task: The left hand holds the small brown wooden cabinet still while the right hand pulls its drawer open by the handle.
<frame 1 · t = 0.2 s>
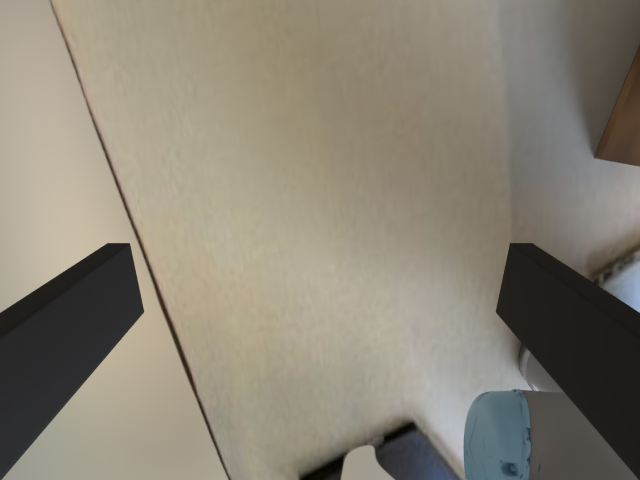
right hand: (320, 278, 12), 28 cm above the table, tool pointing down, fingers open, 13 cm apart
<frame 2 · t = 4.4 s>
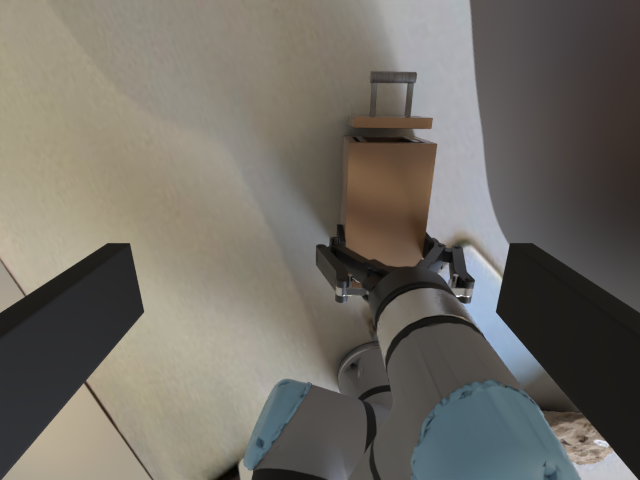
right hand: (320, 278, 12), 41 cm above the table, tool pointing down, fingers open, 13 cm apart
left hand: (378, 233, 50), fingers closed on cabinet, 10 cm apart
stone: (548, 422, 70), on the table
cabinet: (375, 196, 53), on the table, touching left hand
drawer: (383, 161, 47), point 5 cm above the table, slide at 1.6 cm
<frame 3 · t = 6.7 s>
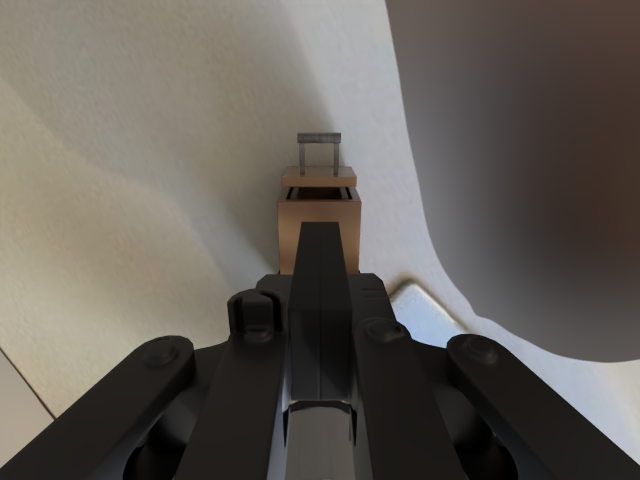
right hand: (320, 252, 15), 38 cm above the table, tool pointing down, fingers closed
cabinet: (319, 240, 55), on the table, touching left hand
drawer: (319, 212, 49), point 5 cm above the table, slide at 1.6 cm
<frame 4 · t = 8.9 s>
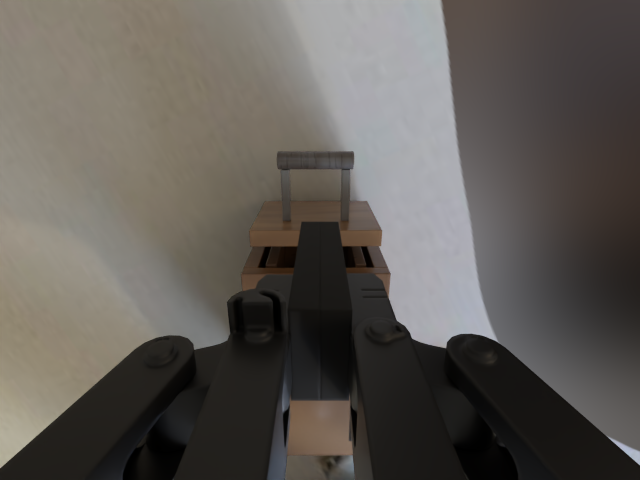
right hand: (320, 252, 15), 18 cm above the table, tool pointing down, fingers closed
cabinet: (316, 307, 37), on the table, touching left hand
drawer: (316, 277, 30), point 5 cm above the table, slide at 1.6 cm
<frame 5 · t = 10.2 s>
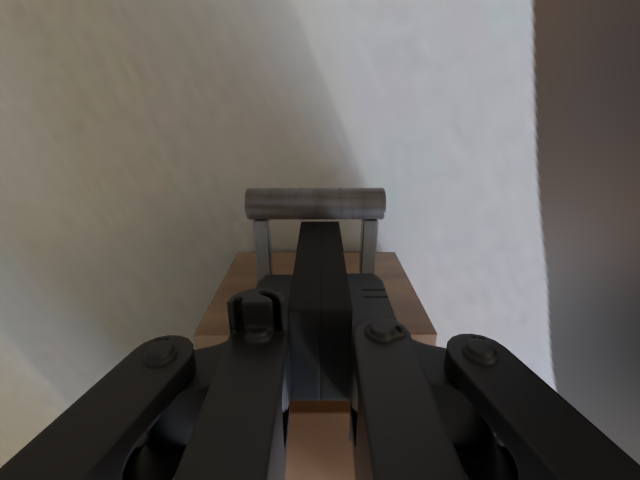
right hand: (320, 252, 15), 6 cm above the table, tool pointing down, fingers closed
cabinet: (317, 393, 26), on the table, touching left hand
drawer: (316, 377, 19), point 5 cm above the table, slide at 1.6 cm, touching right hand
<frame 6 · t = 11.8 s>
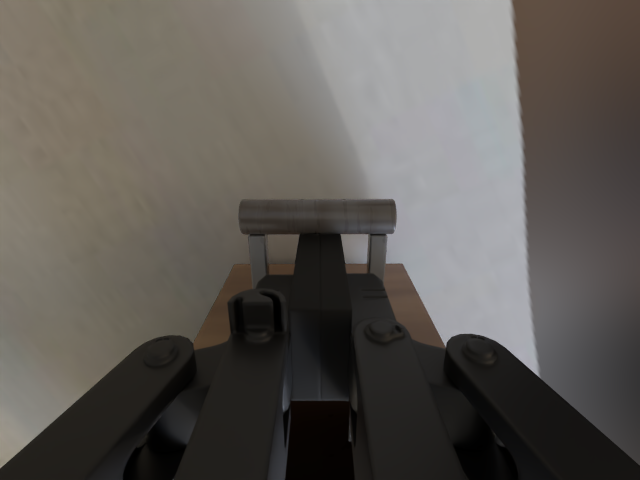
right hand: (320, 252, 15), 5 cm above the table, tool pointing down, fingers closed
drawer: (318, 400, 17), point 5 cm above the table, slide at 8.0 cm, touching right hand
when the left hand's fingers open (5 cm above the table, at t = 13.6 s): cabinet stays where it is, on the table.
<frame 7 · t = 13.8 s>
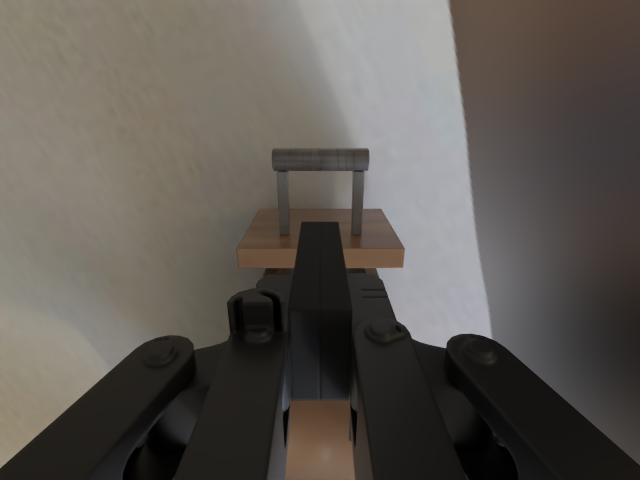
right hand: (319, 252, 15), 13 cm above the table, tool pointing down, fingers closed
cabinet: (320, 388, 34), on the table
drawer: (320, 301, 25), point 5 cm above the table, slide at 8.1 cm
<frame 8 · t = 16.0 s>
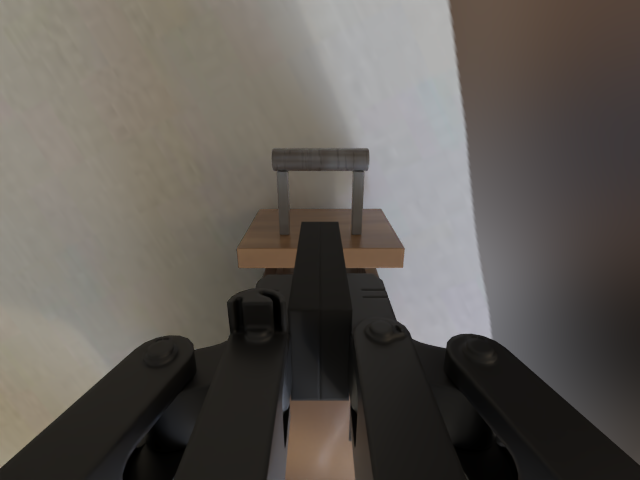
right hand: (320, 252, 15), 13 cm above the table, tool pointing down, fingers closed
cabinet: (320, 388, 34), on the table
drawer: (320, 301, 25), point 5 cm above the table, slide at 8.1 cm
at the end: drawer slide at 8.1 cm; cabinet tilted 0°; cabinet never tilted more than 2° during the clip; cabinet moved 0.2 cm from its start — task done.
